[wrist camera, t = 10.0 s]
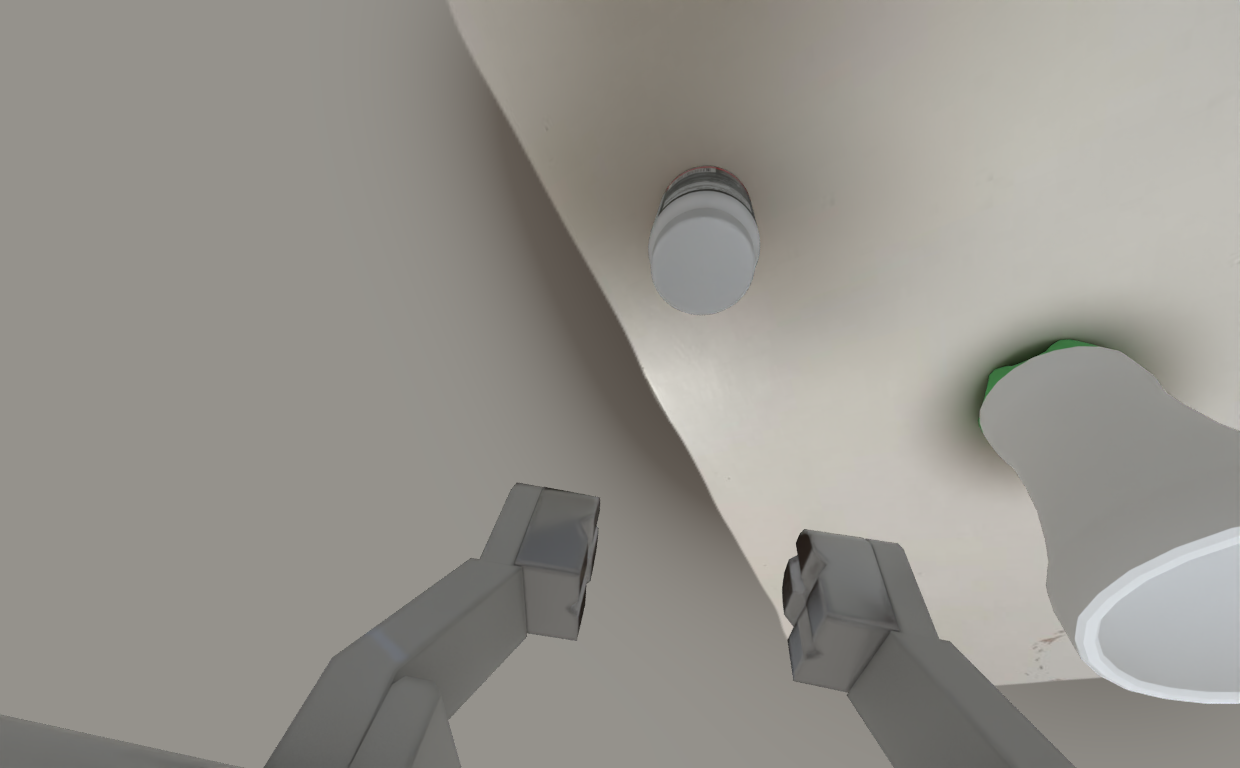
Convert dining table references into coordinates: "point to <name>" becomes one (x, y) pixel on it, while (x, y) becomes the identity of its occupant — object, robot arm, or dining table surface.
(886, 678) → the robot arm
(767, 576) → the dining table surface
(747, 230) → the pill bottle
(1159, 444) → the cup
